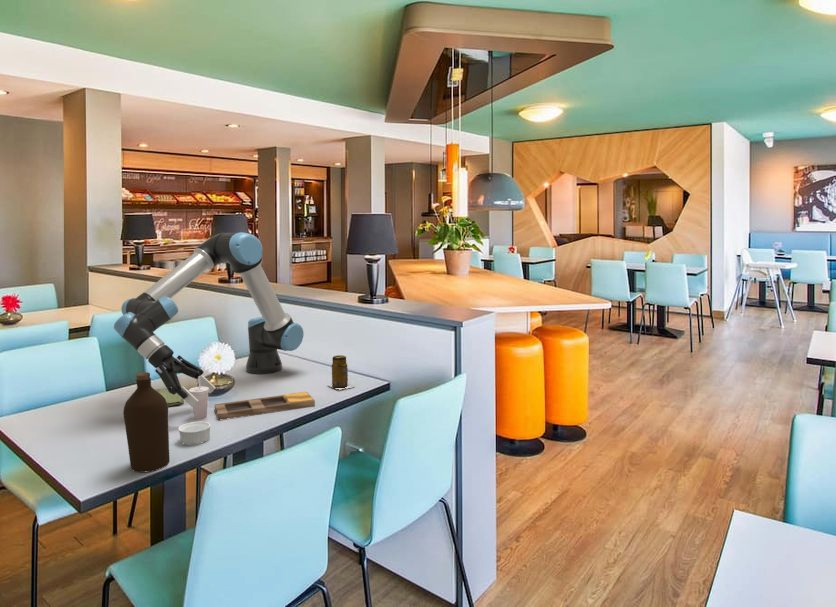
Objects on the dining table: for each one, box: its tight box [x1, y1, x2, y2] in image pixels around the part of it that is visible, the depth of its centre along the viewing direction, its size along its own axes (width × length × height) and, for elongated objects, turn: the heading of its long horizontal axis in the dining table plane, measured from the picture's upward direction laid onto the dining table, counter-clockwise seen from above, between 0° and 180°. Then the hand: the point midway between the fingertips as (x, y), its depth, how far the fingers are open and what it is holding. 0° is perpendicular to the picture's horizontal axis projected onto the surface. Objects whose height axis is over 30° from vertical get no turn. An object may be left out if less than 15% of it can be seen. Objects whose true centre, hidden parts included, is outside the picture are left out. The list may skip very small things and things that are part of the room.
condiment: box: [331, 354, 349, 391], centre depth 218 cm, size 7×8×12 cm
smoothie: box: [188, 376, 209, 420], centre depth 185 cm, size 6×6×14 cm
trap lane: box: [214, 391, 316, 421], centre depth 195 cm, size 11×32×2 cm, turn 115°
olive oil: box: [122, 371, 170, 473], centre depth 148 cm, size 11×11×25 cm
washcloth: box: [154, 388, 185, 407], centre depth 203 cm, size 13×18×3 cm
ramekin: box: [177, 421, 211, 445], centre depth 167 cm, size 9×9×4 cm
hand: (204, 397), depth 185 cm, fingers open, 13 cm apart
